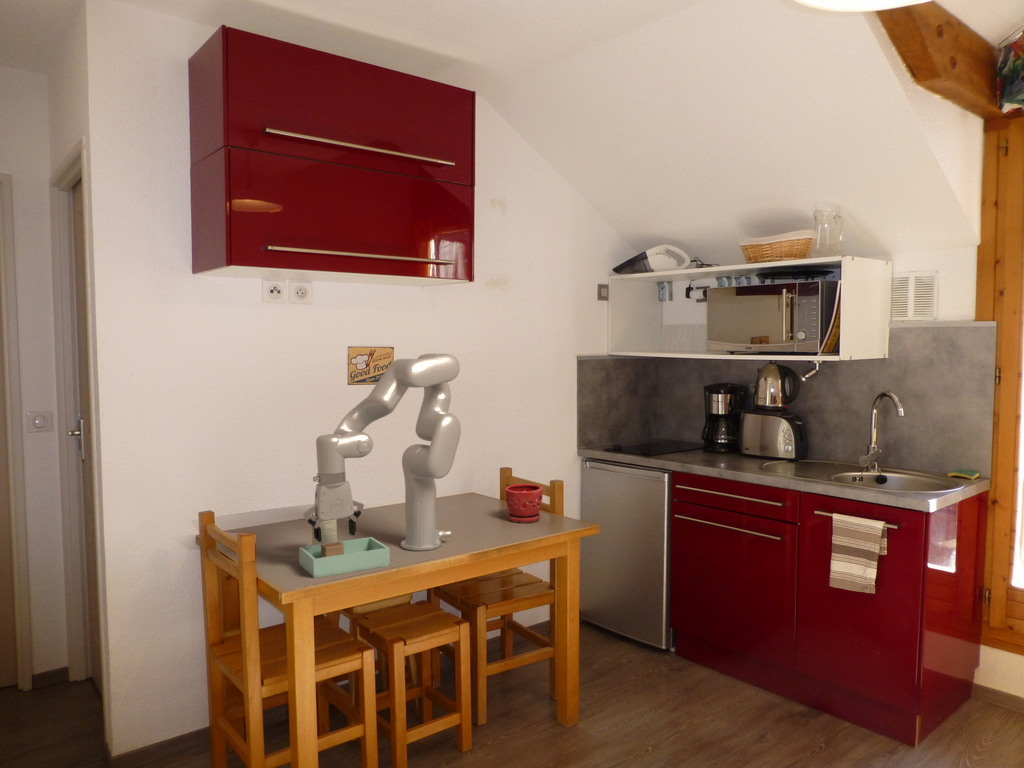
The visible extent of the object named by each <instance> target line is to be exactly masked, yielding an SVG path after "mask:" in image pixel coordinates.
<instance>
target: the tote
mask: <svg viewBox="0 0 1024 768" xmlns="http://www.w3.org/2000/svg"><path fill="white" fill-rule="evenodd" d="M338 542H339V543H340V544H342V545H343V546H344V554H343V555H336V556H329V557H323V558H321V544H318V545H313V544H312V545H307V546H306V545H305V546H299V547H298V555H299V556H298V560H299V561H298V562H299V566H300V567H301V568H302V569H303V570H305V571H306V573H308V574H309V575H310V576H311V577H312V578H314V579H317V578H324V577H328V576H329V577H330V576H335V575H341V574H346V573H347V574H349V573H353V572H360V571H366V570H373V569H377V568H378V569H379V568H384V567H389V566H391V560H390V559H391V555H390V553H391V550H390V549H391V548H390V547H388V546H387V545H385V544H384V543H382V542H381V541H379V540H377V539H376V538H374V537H372V536H369V537H362V538H356V539H355V538H354V539H350V540H349V539H348V540H347V539H346V540H342V541H341V540H339V541H338ZM332 543H334V542H332ZM325 544H327V543H325Z"/></svg>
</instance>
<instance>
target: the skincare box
mask: <svg viewBox="0 0 1024 768" xmlns="http://www.w3.org/2000/svg"><path fill="white" fill-rule="evenodd" d="M315 518H316V516H315V512H314V513H312V514H311V519H312V520H313V521H314V520H315ZM319 527H320V528H321V538H322V541H321V542H318V541H317V540H316V539H315V538H314V527H313V526H312V525H311V530H312V531H311V536H312V545H318V544H325V543H332V542H338V537H337V536H338V533H337V532H338V530H337V528H338V527H337V519H335V520H329V521H322V523H321V524H320V526H319Z"/></svg>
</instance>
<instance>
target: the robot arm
mask: <svg viewBox="0 0 1024 768" xmlns="http://www.w3.org/2000/svg"><path fill="white" fill-rule="evenodd" d="M460 369H461V366H460V362H459V360H458V358H456V356H454V355H452V354H451V353H450V354H449V353H424V354H421V355H419V356H418V357H417V358H398V359H395V360H394V361H392V362H391V363H390V364H389V366H388V367H387V369H386V370H385V371H384V373H383V374H382V376H381V377H380V378H379V380H378V382H377V383H376V384H375V386H374V387H373V389H372V390H371V392H370V393H369V394H368V396H367V397H366V398H364V399H363V400H361V401H360V402H359V403H358V404H356V406H355V407H353V408H352V409H351V410H349V412H348V413H347V414H346V415H344V418H343V419H342V420H341V421H340V422H339V424H338V426H337V427H336V429H335V431H334V432H333V433H331V434H330V433H328V434H327V433H326V434H322V435H319V436H317V438H316V440H315V446H316V463H317V464H316V465H317V474H316V476H313V477H312V481H313V482H316V483H317V484H316V486H315V492H314V505H313V506H312V507H310V508H308V509H307V510H306V511H304V512H303V513H302V516H303V518H304V520H306V522H307V523H308V524H309V525H311V527H312V526H313V527H314V538H315V539H316V540H317V541H318V542H321V541H322V538H321V528H320V527H319V526H320V524H321V523H322V521H329V520H335V519H336V520H340V519H344V518H345V519H346V518H348V522H347V523H348V534H350V535H351V536H352V537H353V536H355V535H356V534H355V533H356V532H357V523H356V522H357V521H358V518H359V517H360V516H361V514H362V511H363V509H364V507H365V505H364V504H363V503H362V502H359V501H356V500H354V499H353V494H352V489H351V484H350V481H348V480H346V479H347V478H346V477H347V476H346V464H345V463H346V462H345V459H361V458H364V457H366V456H368V455H369V454H370V453H371V452H372V450H373V447H374V442H373V439H372V437H371V436H370V435H369V434H367V433H366V432H364V430H365V429H366V428H367V427H369V425H370V424H372V423H374V422H376V421H377V420H380V419H383V418H385V417H387V416H388V415H390V414H392V413H394V411H395V409H396V408H397V406H398V405H399V403H400V401H401V400H402V399H403V397H404V395H405V394H406V393H407V391H408V389H409V388H415V389H416V388H419V389H420V388H423V399H422V403H421V406H420V409H419V413H418V417H417V420H416V424H415V435H417V437H418V438H419V439H421V440H423V441H427V442H430V445H428V444H421V443H415V444H411V445H409V446H408V447H407V448H406V449H405V450H404V452H402V453H403V454H402V457H401V465H402V466H401V467H402V471H403V477H404V487H405V488H404V489H405V490H404V491H405V492H404V493H405V495H404V497H405V499H404V500H405V502H404V503H405V504H404V505H405V510H404V511H405V539H403V540H401V542H400V547H401V548H402V549H405V550H408V551H419V552H420V551H422V552H423V551H430V550H434V549H439V548H440V547H441V546H442V545H443V544H442V540H441V539H443V538H448V537H451V536H452V532H451V530H445V531H444V530H442V529H441V530H439V529H437V484H436V482H435V479H436V480H440V479H443V478H445V477H446V476H447V475H448V474H449V473H450V471H451V469H452V467H453V464H454V461H455V457H456V453H457V450H458V447H459V442H460V438H461V434H462V426H461V422H460V420H459V418H458V417H457V416H456V415H455V414H454V413H451V412H449V409H450V404H451V399H452V394H451V388H450V385H449V382H452V381H454V380H455V379H456V378H457V377H458V375H459V373H460ZM354 506H355V507H356V510H355V511H354ZM313 513H315V516H316V518H315V520H314V521H313V520H312V517H311V516H312V514H313Z"/></svg>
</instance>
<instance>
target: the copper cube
mask: <svg viewBox="0 0 1024 768" xmlns="http://www.w3.org/2000/svg"><path fill="white" fill-rule="evenodd" d="M339 542H340V541H337V542H334V543H327V544H321V558H323V557H329V556H336V555H343V554H344V546H343V545H342V544H340V543H339Z"/></svg>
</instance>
